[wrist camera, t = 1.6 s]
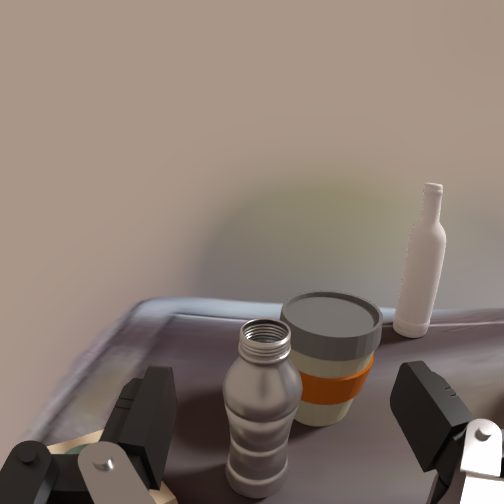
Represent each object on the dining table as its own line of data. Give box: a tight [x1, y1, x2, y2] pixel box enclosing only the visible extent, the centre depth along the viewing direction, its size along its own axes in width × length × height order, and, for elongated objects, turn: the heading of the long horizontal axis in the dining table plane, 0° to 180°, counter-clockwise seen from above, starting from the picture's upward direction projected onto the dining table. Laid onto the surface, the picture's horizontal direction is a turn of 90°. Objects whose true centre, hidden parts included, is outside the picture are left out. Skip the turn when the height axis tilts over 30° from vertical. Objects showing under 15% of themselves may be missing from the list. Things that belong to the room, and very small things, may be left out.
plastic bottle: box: [222, 318, 303, 498], centre depth 25 cm, size 6×7×20 cm
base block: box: [47, 429, 178, 504], centre depth 22 cm, size 12×12×4 cm
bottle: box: [393, 183, 446, 338], centre depth 55 cm, size 8×8×30 cm
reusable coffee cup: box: [280, 291, 383, 426], centre depth 38 cm, size 13×13×15 cm
